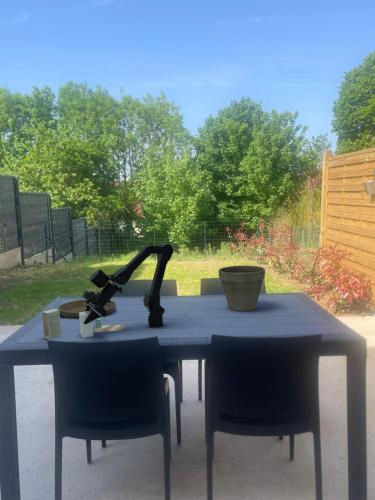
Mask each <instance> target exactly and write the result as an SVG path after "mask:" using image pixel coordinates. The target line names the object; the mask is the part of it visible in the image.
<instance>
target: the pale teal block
mask: <svg viewBox="0 0 375 500" xmlns="http://www.w3.org/2000/svg"><path fill="white" fill-rule="evenodd" d="M94 321H95V326H96V328H101V327H102V317H100V318H98V319H96V320H94Z"/></svg>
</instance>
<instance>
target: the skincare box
mask: <svg viewBox="0 0 375 500" xmlns="http://www.w3.org/2000/svg"><path fill="white" fill-rule="evenodd" d="M60 314H61V313H60V312H59V310H58V308H57V309H55V308H52V309H49V310H45V311H42V325H43V335H44V337H43V338H44V339H45V340H51V339H55V338H58V337H61V336H62V327H61V316H60Z"/></svg>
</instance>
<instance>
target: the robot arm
mask: <svg viewBox="0 0 375 500" xmlns="http://www.w3.org/2000/svg"><path fill="white" fill-rule="evenodd" d="M174 251H175V250H174V247H173V246H172V245H171V244H168V243H160V244H158V245H157V244H155V245H152V244H151V245H149V244H146V245H144V246H143V247H142V248H141V249H140V251H139V252H138V253H137V254H136V255H134V257H133V258H132V259H131V260H130V261H129V262H128V263H127V264H125V265H124V266H122V267H120V268H119V269H117V270H116V271H115V272H114V273H112V274H109V275H107V274H106V273H105V272H104V271H103V270H102V269H101V268H99V269H98V270H96V271H95V272H94V273H92V274H91V276H90V277H89V279H88V281H89V282H91V283H92V284H93V285H94V286H96V287H97V288H98V289H101V288H102V289H101V290H100V291H97V292H95V291H93V290H87V289H84V291H83V293H82V296H81V297H82V298H83V299H84V300H85V299H86V300H85V302H86V303H87V304H86V303H85V305H86V310H85V312H87V311H90V313H89V315H88V316H87V318H86V320H85V321H84V324H85V325H86V324H88V323H90V322H92V321H93V322H94V321H95V320H96V319H98V318H102V317H103V318H105V317H106V316H107V311H106V310H105V308H104V307H105V306H106V304H107V303H108V302H109V303H110V302H111V301H112V300H111V299H112V298H113V297H114V296H115V294H117V292H118V293H120V294H123V288H122V287H123V286H124V285H126V284H127V283H128V282H129V280H130V279H131V277H132V276H133V274H134V272H135V271H136V270H137V269H138V268H139V266H141V265H142V264H143V263H144V262H145V261H146V259H147V258H149V257H150V256H151V255H156V265H155V269H154V273H153V277H152V282H151V285H150V289H149V291H148V292H145V293H144V298H143V299H142V302H143V306H144V307H145V309H147V311H148V312H149V313H148V316H147V319H148V320H147V323H148V327H149V328H162V327H164V324H165V323H164V314H165V311H166V309H165V308H164V307H162V305H161V290H162V285H163V280H164V278H165V272H166V269H167V265H168V263H169V261H170V260H171V259H172V257H173V254H174ZM119 285H120V286H119ZM110 300H111V301H110ZM101 315H102V317H101Z"/></svg>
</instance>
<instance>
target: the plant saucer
mask: <svg viewBox="0 0 375 500" xmlns="http://www.w3.org/2000/svg"><path fill="white" fill-rule="evenodd" d="M85 300H86V299H85V298H84V299H78V300H73V301H68V302H64V303H62V304H60V305H58V307H57V310H59V312H60V314H61V315H62V316H63V317H64V318H66V319H79V313H80V312H85V310H86V305H85V303H86V302H85ZM110 301H111V302H110V303H109V302H108V303H107V304H106V306H105V307H104V308H105V310H106V311H107V315H110V314H112V312H113V310H115V308H116V306H117V302H116V301H113V300H110ZM86 304H87V303H86ZM107 315H106V316H107ZM102 317H103V316H102V315H101V317H100V318H102Z"/></svg>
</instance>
